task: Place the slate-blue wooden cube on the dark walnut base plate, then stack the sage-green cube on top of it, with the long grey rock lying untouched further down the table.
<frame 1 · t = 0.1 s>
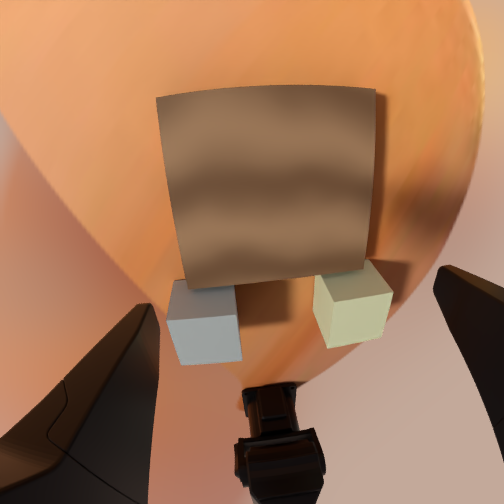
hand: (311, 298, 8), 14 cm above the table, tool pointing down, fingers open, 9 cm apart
slate block: (207, 301, 26), on the table
walnut base: (272, 183, 21), on the table
sage block: (340, 285, 27), on the table
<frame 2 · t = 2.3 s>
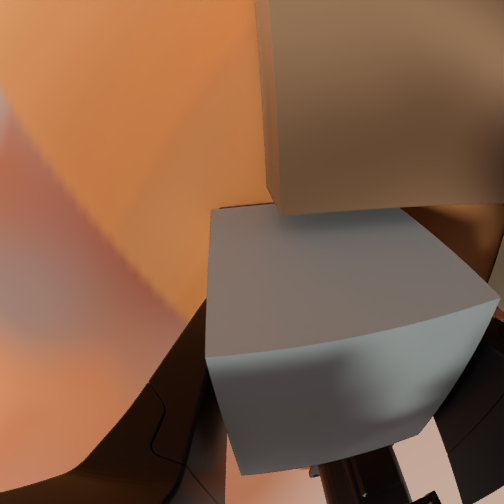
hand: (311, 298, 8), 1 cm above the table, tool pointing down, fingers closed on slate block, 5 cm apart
slate block: (302, 277, 9), on the table, touching gripper
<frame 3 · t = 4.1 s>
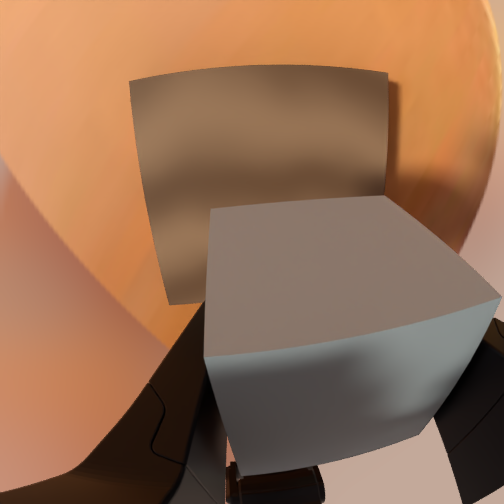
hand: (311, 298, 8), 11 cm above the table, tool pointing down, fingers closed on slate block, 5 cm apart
slate block: (302, 277, 9), point 10 cm above the table, touching gripper
walnut base: (266, 182, 18), on the table
when the fingers open (4 cm above the table, at t = 5.8 s): slate block stays where it is, resting on walnut base.
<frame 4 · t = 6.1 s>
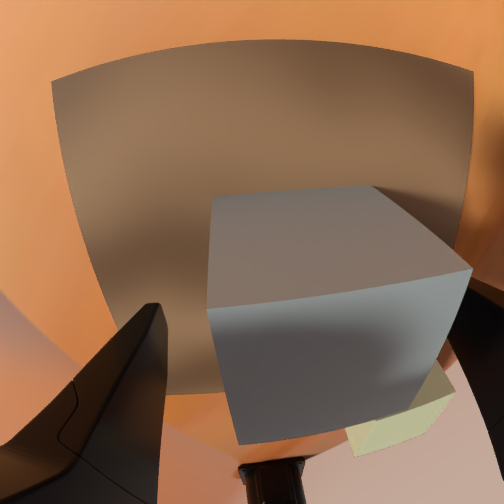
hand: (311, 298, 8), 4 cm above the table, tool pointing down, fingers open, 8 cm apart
slate block: (296, 261, 10), point 2 cm above the table, touching walnut base
walnut base: (285, 234, 12), on the table
sage block: (375, 366, 17), on the table
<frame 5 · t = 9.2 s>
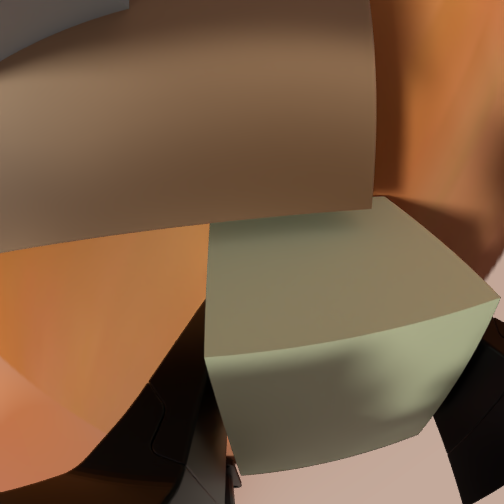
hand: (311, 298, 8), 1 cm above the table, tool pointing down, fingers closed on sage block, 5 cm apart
sage block: (302, 277, 9), on the table, touching gripper
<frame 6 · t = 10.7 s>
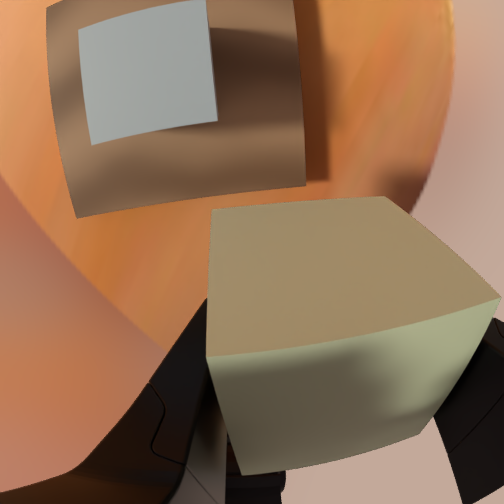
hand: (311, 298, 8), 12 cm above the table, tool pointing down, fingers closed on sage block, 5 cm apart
slate block: (165, 77, 13), point 2 cm above the table, touching walnut base
walnut base: (171, 79, 15), on the table
sage block: (303, 277, 9), point 11 cm above the table, touching gripper
when the fingers open (9 cm above the table, at t = 12.1 s): sage block moves 1 cm, resting on slate block.
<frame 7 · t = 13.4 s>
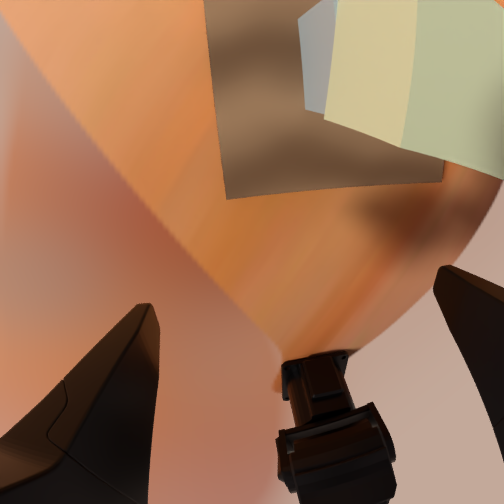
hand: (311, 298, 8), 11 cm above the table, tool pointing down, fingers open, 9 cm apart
slate block: (347, 64, 13), point 2 cm above the table, touching sage block, walnut base
walnut base: (334, 66, 15), on the table
sage block: (393, 71, 9), point 7 cm above the table, touching slate block
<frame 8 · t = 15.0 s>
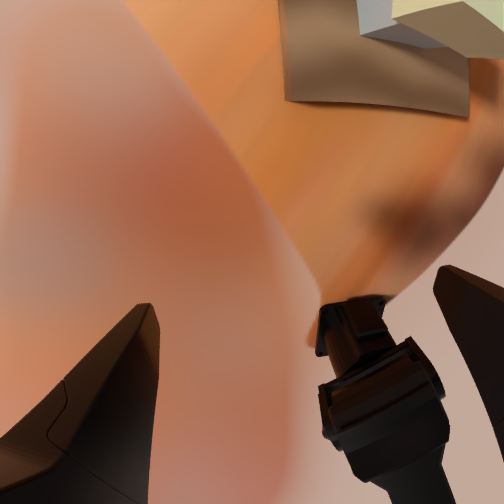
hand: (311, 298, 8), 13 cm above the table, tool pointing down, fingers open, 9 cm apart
slate block: (391, 8, 13), point 2 cm above the table, touching sage block, walnut base
walnut base: (377, 13, 14), on the table
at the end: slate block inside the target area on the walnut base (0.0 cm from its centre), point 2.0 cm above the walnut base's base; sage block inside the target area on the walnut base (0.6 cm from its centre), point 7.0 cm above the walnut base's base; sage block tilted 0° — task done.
